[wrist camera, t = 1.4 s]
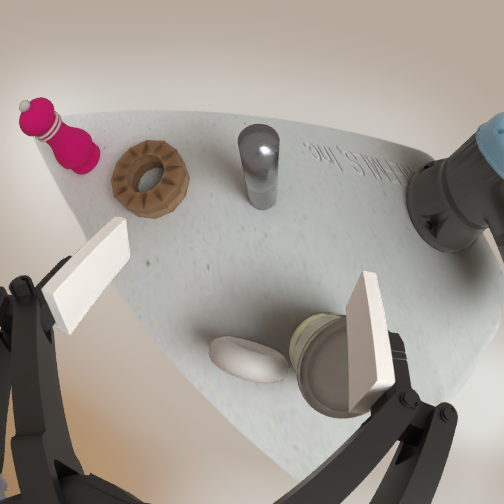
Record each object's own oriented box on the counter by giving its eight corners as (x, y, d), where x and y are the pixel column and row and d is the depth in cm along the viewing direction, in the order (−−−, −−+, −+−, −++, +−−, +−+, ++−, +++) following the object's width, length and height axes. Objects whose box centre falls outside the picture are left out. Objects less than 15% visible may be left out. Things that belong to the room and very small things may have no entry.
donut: (213, 351, 40) (196, 366, 30) (220, 329, 40) (205, 337, 30) (281, 373, 39) (285, 395, 29) (289, 350, 39) (296, 365, 29)
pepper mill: (105, 138, 47) (46, 75, 27) (99, 173, 46) (30, 115, 26) (75, 147, 47) (13, 92, 27) (69, 180, 46) (-2, 131, 26)
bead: (195, 155, 45) (188, 142, 40) (179, 222, 43) (170, 213, 39) (135, 152, 46) (124, 140, 41) (117, 213, 44) (103, 205, 40)
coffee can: (356, 306, 40) (397, 308, 26) (361, 376, 38) (400, 406, 24) (284, 316, 40) (292, 323, 26) (290, 387, 38) (301, 426, 24)
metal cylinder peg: (278, 186, 43) (281, 126, 27) (274, 211, 42) (276, 161, 27) (251, 182, 43) (241, 122, 28) (246, 207, 43) (234, 155, 27)
